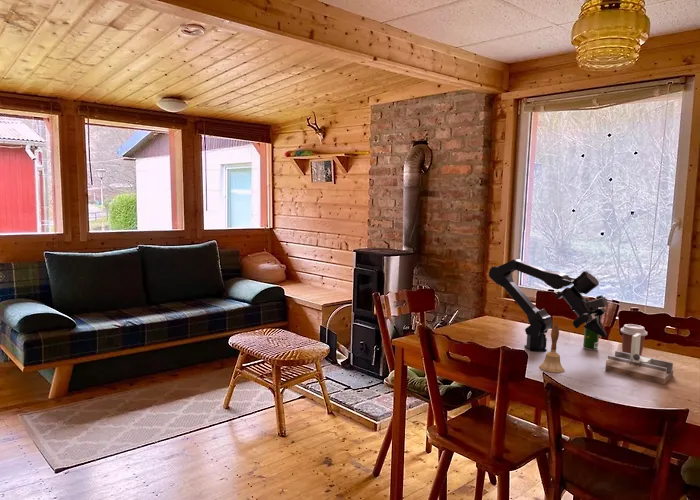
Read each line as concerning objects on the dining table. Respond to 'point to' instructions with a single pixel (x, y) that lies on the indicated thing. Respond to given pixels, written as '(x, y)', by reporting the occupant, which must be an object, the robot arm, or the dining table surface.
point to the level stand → (640, 368)
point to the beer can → (590, 340)
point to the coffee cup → (627, 337)
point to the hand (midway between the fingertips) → (605, 336)
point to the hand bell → (553, 355)
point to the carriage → (637, 350)
